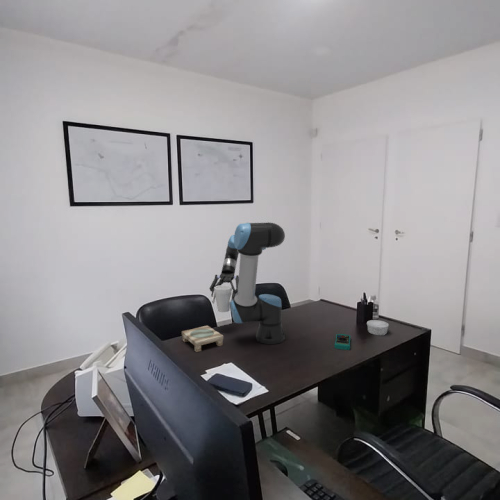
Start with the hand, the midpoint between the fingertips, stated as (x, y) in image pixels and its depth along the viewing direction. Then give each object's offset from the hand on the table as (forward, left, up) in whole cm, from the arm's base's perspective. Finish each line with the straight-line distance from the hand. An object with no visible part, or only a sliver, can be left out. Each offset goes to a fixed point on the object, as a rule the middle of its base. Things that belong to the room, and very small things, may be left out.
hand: (221, 302), depth 181 cm
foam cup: (+2, -2, -6) cm, 6 cm away
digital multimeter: (-45, -45, -19) cm, 66 cm away
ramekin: (-45, -72, -19) cm, 87 cm away
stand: (-2, +13, -19) cm, 23 cm away
